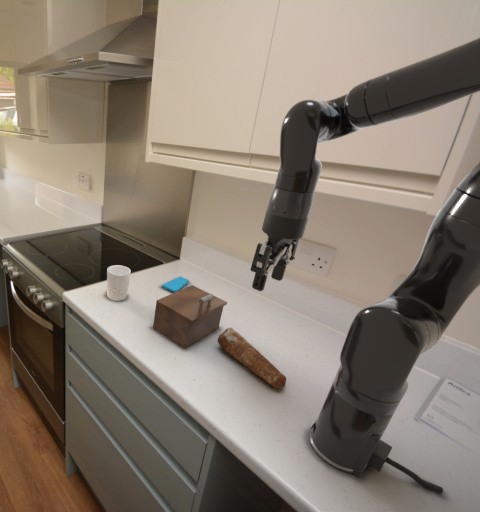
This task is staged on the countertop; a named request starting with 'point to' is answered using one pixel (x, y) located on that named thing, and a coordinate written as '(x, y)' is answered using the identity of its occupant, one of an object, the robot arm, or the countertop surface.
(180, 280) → the sponge
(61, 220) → the countertop surface
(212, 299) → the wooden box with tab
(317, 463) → the countertop surface
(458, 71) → the robot arm
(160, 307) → the bread bin
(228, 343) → the bread
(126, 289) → the white cup
